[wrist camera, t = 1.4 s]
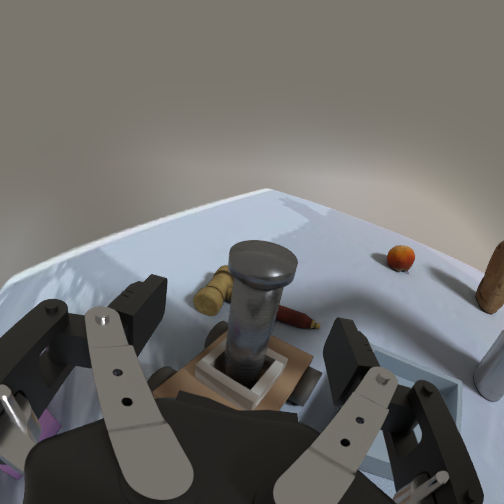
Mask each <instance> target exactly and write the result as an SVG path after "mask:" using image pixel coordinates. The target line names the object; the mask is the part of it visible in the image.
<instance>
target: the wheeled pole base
mask: <svg viewBox="0 0 504 504" xmlns="http://www.w3.org/2000/svg"><path fill="white" fill-rule="evenodd" d="M227 331H228V323H227V322H225V321H221V322H219V323H218V324H216V325H215V326H214V327H213V329H212V330H211V331H210V333H209V335H208V336H207V339H206V341H205V350H203V351H202V352H201V353H200V354H199V355H197V356H196V357H195V358H194V359H193V360H191V361H190V362H189V363H188V364H187V365H185V366H184V367H183V368H182V369H180V370H179V371H178V372H176V371H175V370H174V369H173V368H171V367H169V366H166V367H163V368H161V369H159V370H157V371H156V372H155V373H154V374H153V375H152V376H151V377H150V378H149V380H148V381H147V384H148V386H149V389H150V391H151V393H152V395H153V398H154V399H156V398H164V397H172V398H176V397H177V395H178V392H179V390H181V391H185V392H188V393H192V394H196V395H200V396H204V397H208V398H210V399H212V400H215V401H217V402H219V403H222V404H224V405H226V406H229V407H231V408H233V409H236V410H275V411H279V410H280V409H281V407H282V406H283V404H284V403H285V402H286V400H287V399H288V397H289V396H290V398H289V400H290V401H292V402H294V403H296V404H298V405H300V406H302V407H303V406H304V404H305V403H306V401H307V400H308V398H309V396H310V395H311V393H312V391H313V389H314V388H315V386H316V384H317V382H318V381H319V379H320V377H321V375H322V372H320V371H318V370H316V369H313V368H311V367H309V366H310V363H311V361H312V359H313V357H314V356H312V355H310V354H308V353H306V352H304V351H301V350H299V349H297V348H295V347H293V346H291V345H289V344H288V343H286V342H284V341H282V340H280V339H278V338H276V337H274V336H272V335H271V338H270V341H269V345H268V349H267V352H266V356H265V359H264V363H263V366H262V370H261V373H260V377H259V380H258V382H257V383H256V384H255V386H254V387H253V388H252V389H250V390H249V389H247V388H246V387H244V386H242V385H241V384H239V383H237V382H236V381H234V380H232V379H231V378H229V377H228V376H226V375H224V374H223V365H224V356H225V348H226V339H227ZM291 393H292V394H291ZM290 394H291V395H290Z"/></svg>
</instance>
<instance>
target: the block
mask: <svg viewBox="0 0 504 504" xmlns="http://www.w3.org/2000/svg"><path fill="white" fill-rule="evenodd" d="M476 297H477V300H478V303H479V305H480V306H481V308H482V309H483V310H484V311H486V312H487V313H490V314H493V313H495V312H497V310H498V309H500V308H501V307H502V306H503V304H504V241H502V242H501V243H500V244H499V245H498V246H497V247H496V249H495V251H494V253H493V255H492V257H491V259H490V261H489V264H488V266H487V269H486V272H485V276H484V277H483V279H482V280H481V282H480V284H479V286H478V289H477V291H476Z"/></svg>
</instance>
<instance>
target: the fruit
mask: <svg viewBox="0 0 504 504" xmlns="http://www.w3.org/2000/svg"><path fill="white" fill-rule="evenodd" d="M387 260H388V264H389V266H390V267H391V268H393V269H395V270H397V271H398V272H400V271H402V270H404V271H406V272H408V270H409V269H410V267H411V266H412V264H413V262H414V260H415V254H414V251H413V250H412V249H411V248H410V247H408V246H401V245H400V246H395V247H393V248H392V249H391V250H390V251H389V252H388V255H387ZM408 274H409V273H408Z"/></svg>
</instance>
